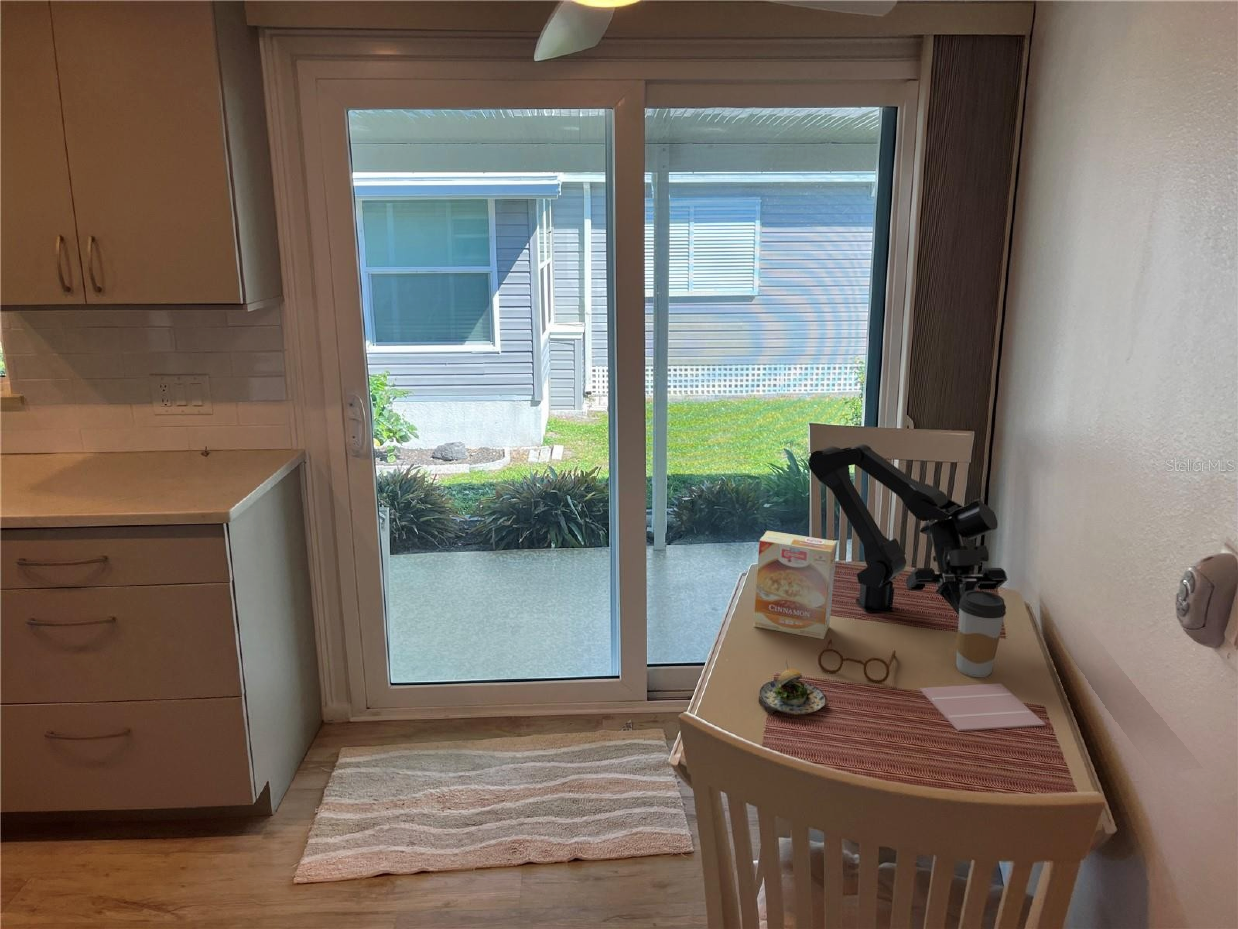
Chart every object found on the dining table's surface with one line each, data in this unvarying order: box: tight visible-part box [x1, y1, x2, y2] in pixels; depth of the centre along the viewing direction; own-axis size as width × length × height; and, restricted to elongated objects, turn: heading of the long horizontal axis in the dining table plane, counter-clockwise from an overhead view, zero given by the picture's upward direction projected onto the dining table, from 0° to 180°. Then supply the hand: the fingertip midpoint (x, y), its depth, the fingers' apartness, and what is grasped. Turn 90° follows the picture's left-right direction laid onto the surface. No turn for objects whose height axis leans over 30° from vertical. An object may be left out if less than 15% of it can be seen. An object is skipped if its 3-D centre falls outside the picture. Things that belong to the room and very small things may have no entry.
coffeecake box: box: [753, 530, 838, 640], centre depth 187 cm, size 15×7×20 cm, turn 68°
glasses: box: [817, 638, 896, 684], centre depth 174 cm, size 13×13×5 cm
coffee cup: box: [955, 589, 1007, 678], centre depth 170 cm, size 8×8×15 cm
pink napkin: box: [919, 683, 1046, 732], centre depth 159 cm, size 16×14×1 cm
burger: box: [758, 659, 828, 715], centre depth 158 cm, size 12×12×8 cm
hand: (965, 619), depth 176 cm, fingers closed
